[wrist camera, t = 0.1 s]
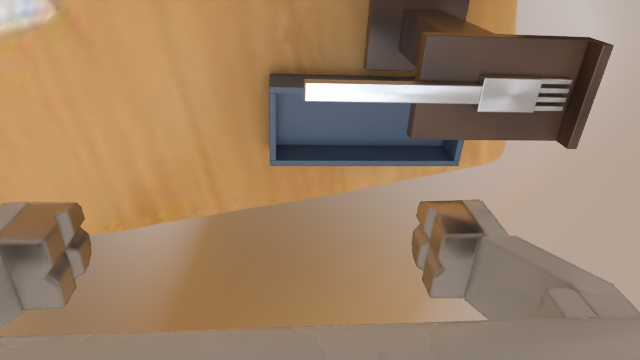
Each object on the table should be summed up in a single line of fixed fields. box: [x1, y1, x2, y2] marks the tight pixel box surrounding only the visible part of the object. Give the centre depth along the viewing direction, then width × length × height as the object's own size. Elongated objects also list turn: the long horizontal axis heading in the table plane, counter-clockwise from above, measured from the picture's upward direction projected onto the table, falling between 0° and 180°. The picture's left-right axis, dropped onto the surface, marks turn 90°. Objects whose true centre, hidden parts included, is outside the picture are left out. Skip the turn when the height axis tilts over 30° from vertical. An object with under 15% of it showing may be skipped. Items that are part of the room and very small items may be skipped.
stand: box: [364, 0, 613, 149], centre depth 44 cm, size 10×13×28 cm
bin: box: [269, 74, 464, 166], centre depth 59 cm, size 11×26×6 cm, turn 87°
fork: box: [304, 75, 572, 113], centre depth 32 cm, size 20×3×1 cm, turn 87°
